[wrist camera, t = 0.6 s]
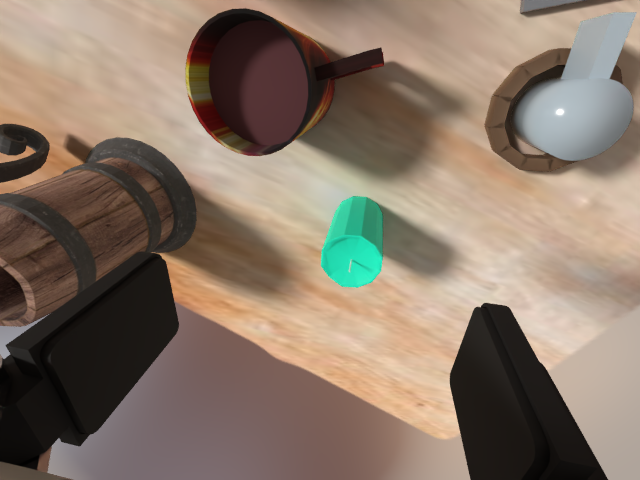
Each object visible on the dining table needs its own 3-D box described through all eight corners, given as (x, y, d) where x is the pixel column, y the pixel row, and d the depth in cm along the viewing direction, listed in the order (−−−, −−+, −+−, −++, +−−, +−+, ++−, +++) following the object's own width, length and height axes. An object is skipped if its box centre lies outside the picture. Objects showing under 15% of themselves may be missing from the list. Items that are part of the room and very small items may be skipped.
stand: (504, 49, 29) (511, 47, 27) (632, 51, 27) (647, 49, 25) (474, 162, 33) (479, 166, 32) (581, 169, 32) (592, 174, 30)
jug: (566, 146, 31) (611, 163, 25) (502, 142, 32) (530, 158, 26) (613, 26, 27) (681, 11, 20) (536, 25, 27) (580, 11, 21)
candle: (360, 185, 37) (351, 229, 26) (393, 221, 38) (397, 275, 28) (324, 216, 39) (304, 266, 29) (356, 248, 41) (347, 307, 30)
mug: (387, 62, 31) (390, 56, 20) (287, 150, 36) (249, 179, 26) (326, -32, 28) (293, -95, 18) (229, 78, 34) (161, 79, 23)
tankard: (218, 198, 41) (96, 288, 24) (166, 272, 49) (45, 381, 31) (56, 68, 37) (-236, 61, 19) (28, 172, 45) (-200, 233, 27)
